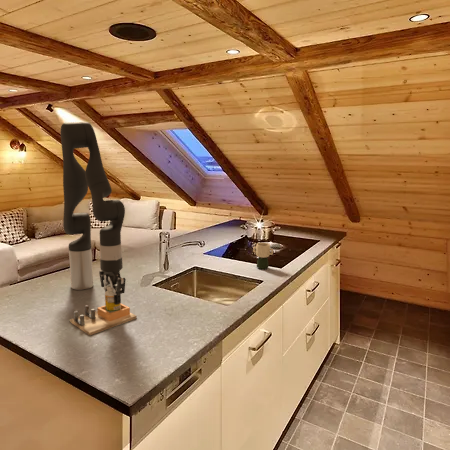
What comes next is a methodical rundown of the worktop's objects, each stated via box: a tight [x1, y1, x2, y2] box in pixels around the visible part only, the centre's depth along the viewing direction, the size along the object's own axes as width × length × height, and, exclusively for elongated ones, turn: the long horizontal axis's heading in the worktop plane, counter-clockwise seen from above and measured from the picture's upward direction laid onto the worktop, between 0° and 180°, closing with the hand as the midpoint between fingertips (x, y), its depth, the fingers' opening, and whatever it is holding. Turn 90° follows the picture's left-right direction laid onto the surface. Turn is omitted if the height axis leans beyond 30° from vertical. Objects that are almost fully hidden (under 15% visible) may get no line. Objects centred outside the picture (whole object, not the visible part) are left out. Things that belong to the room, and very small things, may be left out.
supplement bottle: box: [104, 284, 122, 313], centre depth 132 cm, size 5×5×10 cm
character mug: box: [252, 242, 274, 270], centre depth 193 cm, size 11×7×13 cm, turn 64°
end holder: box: [96, 303, 131, 321], centre depth 133 cm, size 8×8×2 cm
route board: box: [69, 310, 138, 336], centre depth 130 cm, size 14×18×1 cm
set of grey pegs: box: [73, 304, 96, 326], centre depth 128 cm, size 7×6×4 cm
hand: (113, 301), depth 132 cm, fingers closed on supplement bottle, 5 cm apart
